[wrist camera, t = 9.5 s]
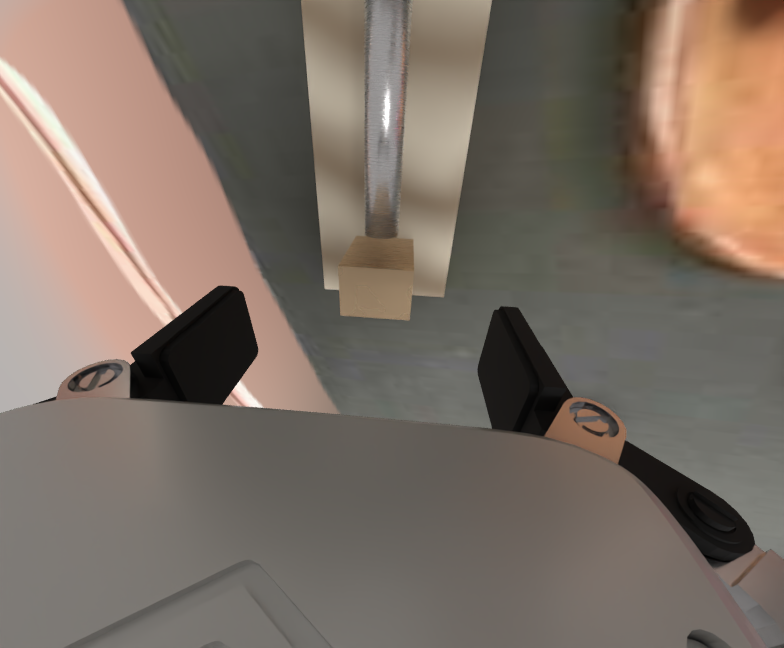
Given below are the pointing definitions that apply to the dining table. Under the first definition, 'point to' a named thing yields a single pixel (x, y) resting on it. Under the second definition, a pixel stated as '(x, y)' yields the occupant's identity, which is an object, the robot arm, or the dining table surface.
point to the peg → (382, 172)
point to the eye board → (422, 126)
